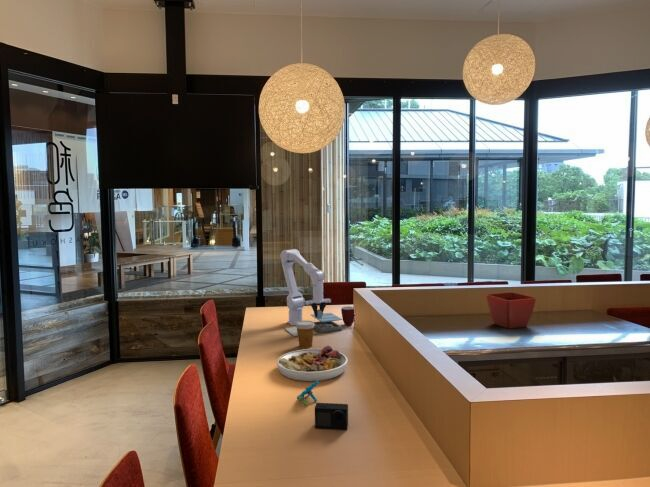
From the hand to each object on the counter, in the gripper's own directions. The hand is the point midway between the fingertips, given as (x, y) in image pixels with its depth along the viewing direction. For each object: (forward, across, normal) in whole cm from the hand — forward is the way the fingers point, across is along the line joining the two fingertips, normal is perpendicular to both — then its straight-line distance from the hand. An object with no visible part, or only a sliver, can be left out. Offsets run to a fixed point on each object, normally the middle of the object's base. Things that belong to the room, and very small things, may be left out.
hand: (318, 316), depth 269 cm
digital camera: (+8, -39, -110) cm, 117 cm away
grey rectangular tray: (+8, +5, 0) cm, 9 cm away
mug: (+8, +20, 0) cm, 21 cm away
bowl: (+8, -26, -59) cm, 65 cm away
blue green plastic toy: (+8, -39, -87) cm, 96 cm away
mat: (+8, -11, 0) cm, 13 cm away
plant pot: (+8, +101, -40) cm, 109 cm away
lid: (+2, +5, 0) cm, 5 cm away
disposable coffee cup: (+8, -17, -26) cm, 32 cm away
